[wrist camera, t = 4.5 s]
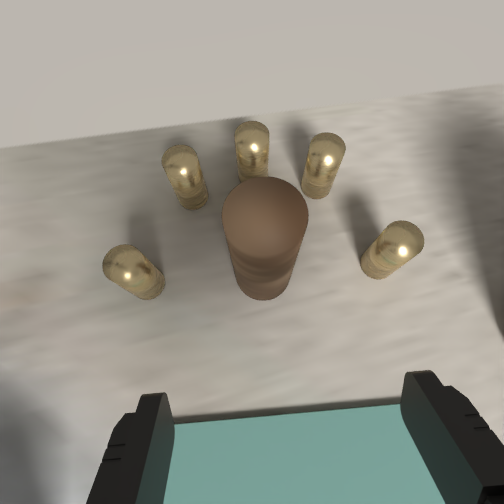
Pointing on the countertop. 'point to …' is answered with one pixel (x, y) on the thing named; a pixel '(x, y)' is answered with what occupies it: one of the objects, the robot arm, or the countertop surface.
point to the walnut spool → (264, 234)
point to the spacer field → (251, 166)
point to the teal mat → (300, 460)
